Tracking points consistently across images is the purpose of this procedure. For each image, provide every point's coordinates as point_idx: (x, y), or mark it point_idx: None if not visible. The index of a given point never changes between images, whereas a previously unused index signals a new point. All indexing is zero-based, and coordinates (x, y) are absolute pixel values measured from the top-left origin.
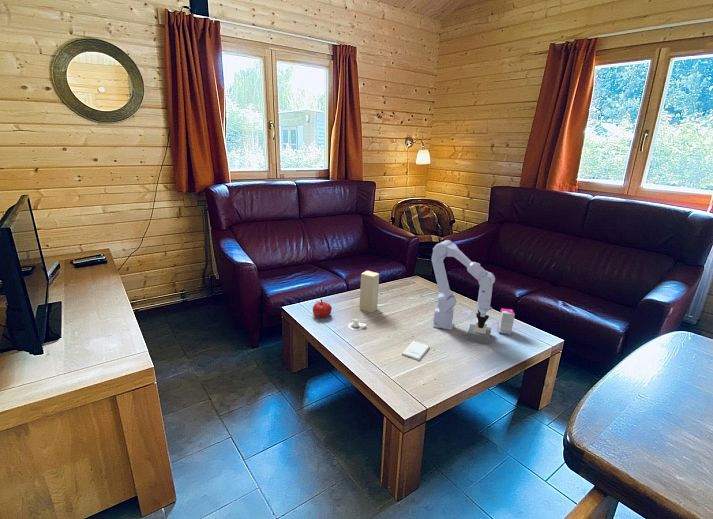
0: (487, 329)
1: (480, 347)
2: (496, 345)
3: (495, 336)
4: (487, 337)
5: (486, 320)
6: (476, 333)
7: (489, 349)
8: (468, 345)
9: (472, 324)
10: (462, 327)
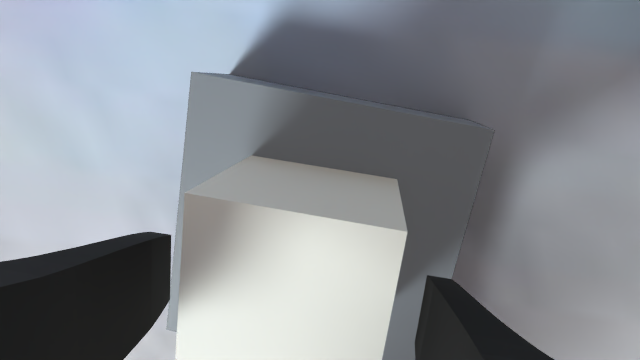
0: (255, 135)
1: (568, 225)
2: (489, 30)
3: (261, 17)
4: (481, 160)
5: (218, 215)
6: (414, 297)
7: (604, 129)
8: (540, 340)
9: (175, 308)
10: (168, 342)
